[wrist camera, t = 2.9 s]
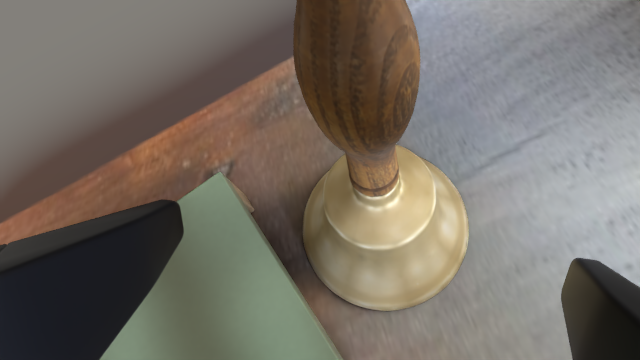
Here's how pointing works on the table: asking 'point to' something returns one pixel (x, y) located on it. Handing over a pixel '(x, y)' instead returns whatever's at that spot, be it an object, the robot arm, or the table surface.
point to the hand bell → (373, 159)
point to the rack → (222, 293)
